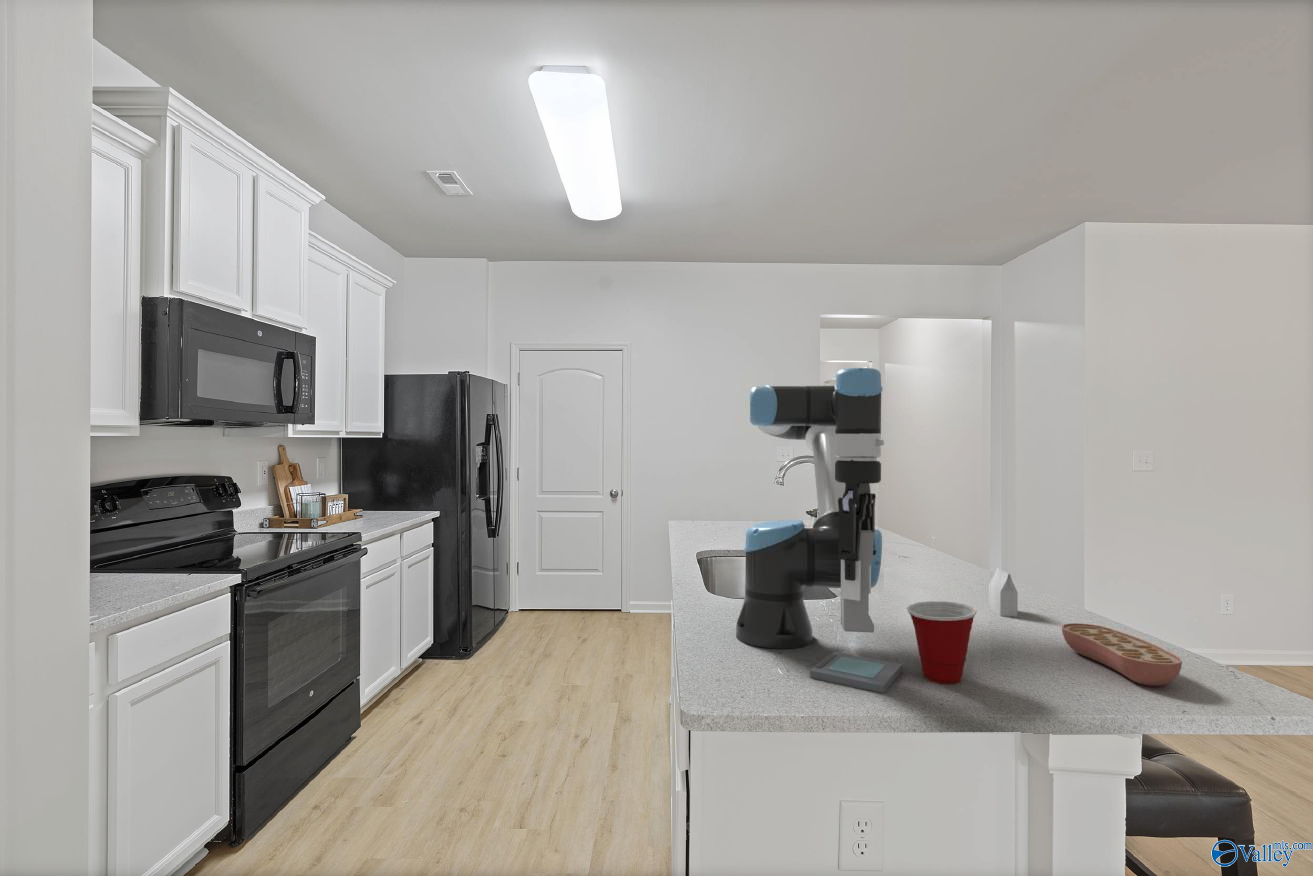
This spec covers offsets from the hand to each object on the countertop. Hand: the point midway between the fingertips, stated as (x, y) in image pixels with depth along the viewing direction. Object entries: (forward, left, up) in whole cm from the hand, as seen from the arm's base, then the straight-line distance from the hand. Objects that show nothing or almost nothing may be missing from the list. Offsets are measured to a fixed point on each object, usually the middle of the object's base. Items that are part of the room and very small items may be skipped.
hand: (857, 595), depth 111 cm
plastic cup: (+12, +6, -14) cm, 19 cm away
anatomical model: (+37, +29, -14) cm, 49 cm away
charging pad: (0, 0, -13) cm, 13 cm away
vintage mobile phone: (0, 0, -6) cm, 6 cm away
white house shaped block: (+16, +59, -14) cm, 62 cm away
